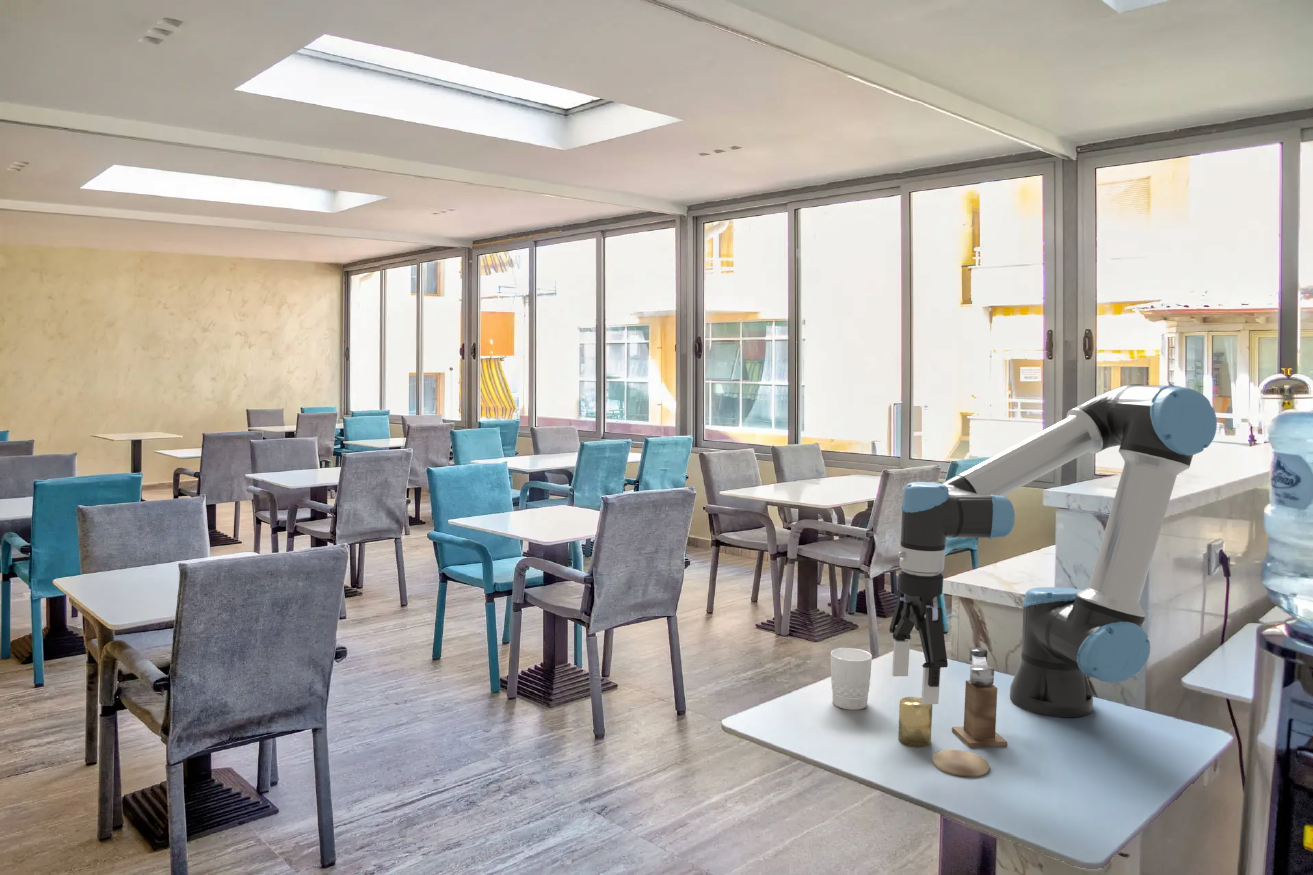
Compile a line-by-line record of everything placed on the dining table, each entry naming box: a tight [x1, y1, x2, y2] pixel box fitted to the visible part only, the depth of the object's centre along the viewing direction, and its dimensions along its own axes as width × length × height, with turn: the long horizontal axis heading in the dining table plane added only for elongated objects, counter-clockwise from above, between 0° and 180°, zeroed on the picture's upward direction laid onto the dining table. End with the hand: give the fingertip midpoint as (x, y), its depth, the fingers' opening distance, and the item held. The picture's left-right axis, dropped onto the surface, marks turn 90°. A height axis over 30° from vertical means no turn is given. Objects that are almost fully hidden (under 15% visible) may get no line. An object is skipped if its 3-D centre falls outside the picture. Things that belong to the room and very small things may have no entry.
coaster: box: [932, 749, 990, 778], centre depth 155 cm, size 9×9×1 cm
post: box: [951, 679, 1008, 748], centre depth 166 cm, size 7×7×10 cm
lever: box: [968, 646, 995, 686], centre depth 170 cm, size 16×4×2 cm, turn 164°
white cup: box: [830, 647, 873, 711], centre depth 181 cm, size 8×8×10 cm
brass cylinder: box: [897, 696, 933, 749], centre depth 164 cm, size 6×6×7 cm
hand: (914, 689), depth 164 cm, fingers open, 13 cm apart
